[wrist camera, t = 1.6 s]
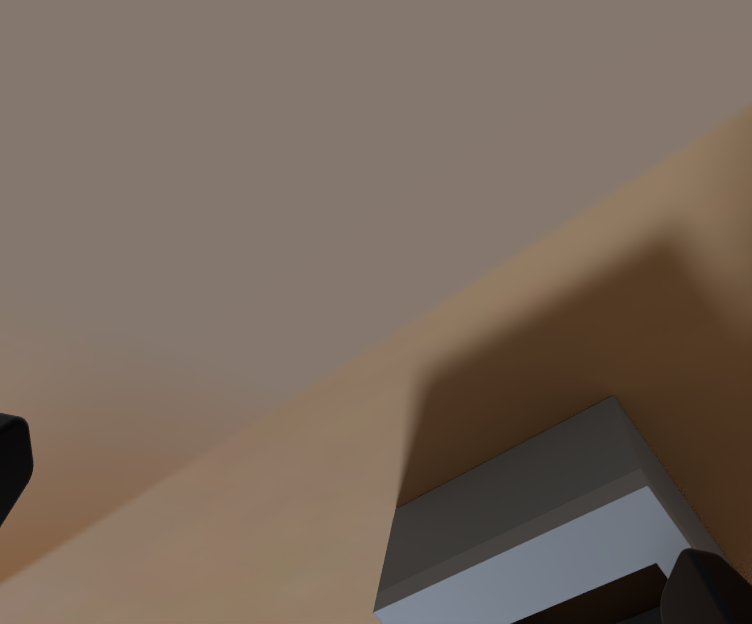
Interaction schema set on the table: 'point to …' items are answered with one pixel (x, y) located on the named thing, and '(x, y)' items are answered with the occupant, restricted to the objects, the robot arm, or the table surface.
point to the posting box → (538, 527)
